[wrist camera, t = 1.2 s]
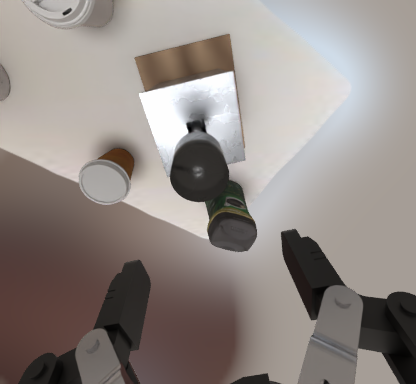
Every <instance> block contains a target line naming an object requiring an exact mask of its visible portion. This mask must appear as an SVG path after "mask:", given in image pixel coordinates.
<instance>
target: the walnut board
mask: <svg viewBox="0 0 416 384" xmlns="http://www.w3.org/2000/svg"><path fill="white" fill-rule="evenodd" d="M135 61H136V64H137V67H138V70H139V73H140V77H141V80H142V83H143V86H144V89H145V91H148V90H149V89H151V88H152V87H153V86H155V85H156V84H158V83H161V82H165V81H169V80H173V79H177V78H181V77H185V76H189V75H194V74H198V73H202V72H206V71H210V70H214V69H218V68H219V69H222V70H224V71H227V72H228V71H233V73H234V80H235V87H236V95H237V102H238V109H239V116H240V124H241V131H242V138H243V146H244V148H245V145H244V137H243V130H242V122H241V115H240V108H239V100H238V93H237V85H236V78H235V70H234V63H233V56H232V48H231V41H230V34H227V35H223V36H219V37H215V38H211V39H207V40H203V41H199V42H195V43H191V44H187V45H183V46H179V47H175V48H171V49H167V50H163V51H159V52H155V53H151V54H147V55H143V56H139V57H135Z"/></svg>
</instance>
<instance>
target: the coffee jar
mask: <svg viewBox="0 0 416 384" xmlns="http://www.w3.org/2000/svg"><path fill="white" fill-rule="evenodd" d="M205 204H206V207H207V211H208V215H209V223H208V227H207V232H208V236H209V239H210V242H211V244H212V245H214V246H216V247H219V248H222V249H226V250H230V251H235V252H236V251H237V252H243V251H248V250H249V249H250V247H251V246H252V245H253V243H254V241H255V239H256V237H257V229H256V224H255V221H254V220H253V218H252V217H251V216H250V214H249V212H248V209H247V206H246V202H245V198H244V193H243V190H242V188H241V186H240V185H238V184H237V183H234V182H232V181H229V180H228V184H227V186H226V188H225V189H224V191H223V192H222V193H221V194H220V195H219V196H217V197H216V198H214V199H212V200H209V201H205Z"/></svg>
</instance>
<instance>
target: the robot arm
mask: <svg viewBox="0 0 416 384" xmlns="http://www.w3.org/2000/svg"><path fill="white" fill-rule="evenodd" d="M9 90H10V83H9V79H8V76H7V74H6V72H5V70H4V69H3V67H2V66H1V65H0V101H2V100H4V99H5V98H6V97H7V96H8V94H9ZM281 240H282V252H283V257H284V260H285V263H286V265H287V267H288V270H289V272H290V274H291V276H292V279H293V281H294V283H295V285H296V288H297V290H298V292H299V294H300V296H301V299H302V301H303V303H304V305H305V308H306V310H307V312H308V314H309V317H310V319H311V320H317V322H316V326H315V330H314V333H313V335H312V336H311V338H310V341H309V344H308V348H307V351H306V355H305V358H304V362H303V366H302V369H301V373H300V377H299V381H298V384H354V382H355V374H356V366H357V350H358V348H360V349H366V350H371V351H377V352H382V354H383V356H384V357H385V359H386V361H387V362H388V364H389V366H390V368H391V370H392V371H393V373H394V375H395V376H396V378H397V380H398V382H399V383H400V384H416V296H415V295H413V294H410V293H406V292H394V293H391V294H390V295H389V296H388V298H387V299H382V298H374V297H366V296H362V295H359V294H357V293H356V292H355V291H353V290H352V289H350V288H348V287H347V286H346V285H345V284H344V283H343V281H342V280H341V278H340V277H339V275H338V274H337V272H336V271H335V269H334V268H333V266H332V265H331V264H330V262H329V260H328V259H327V258H326V256H325V254H324V253H323V252H322V250H321V248H320V247H319V245H318V244H317V243H316V242H315V241H314V240H312V239H311V238H309V237H303V238H301V237H300V235H299V233H298V232H297V230H296V229H292V230H287V231H282V232H281ZM150 286H151V283H150V278H149V276H148V274H147V272H146V270H145V268H144V266H143V264H142V263H141V261H140V260H135V261H130V262H126V263H125V264H124V267H123V269H122V272H121V273H119V274H117V275H116V276H115V278H114V279H113V280H112V282H111V284H110V286H109V289H108V293H107V295H106V297H105V300H104V303H103V305H102V308H101V310H100V313H99V316H98V318H97V321H96V324H95V326H94V329H93V330H92V331H91V332H89V333H88V334H86V335H85V336H84V337H83V338H82V340H81V341H80V342H79V344H78V346H77V347H76V348H75V349H73V350H71V351H69V352H67V353H65V354H63V355H61V356H59V357H56V356H55V355H54V354H53V353H46V354H43V355H41V356H40V357H38V358H37V359H35V360H34V361H33V362H32V363H31V364H30V365H29V366H28V368H27V369H26V370H25V372H24V374H23V376H22V378H21V379H20V381H19V383H18V384H141V383H140V381H139V379H138V377H137V375H136V373H135V371H134V369H133V366H132V364H131V362H130V360H129V355H130V351H133V350H138V349H139V344H140V339H141V334H142V329H143V324H144V318H145V314H146V308H147V303H148V298H149V293H150ZM231 384H280V383H277V382H273V381H269V377H268V374H261V375H254V376H248V377H243V378H241V379H239V380H237V381H235V382H233V383H231Z"/></svg>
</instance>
